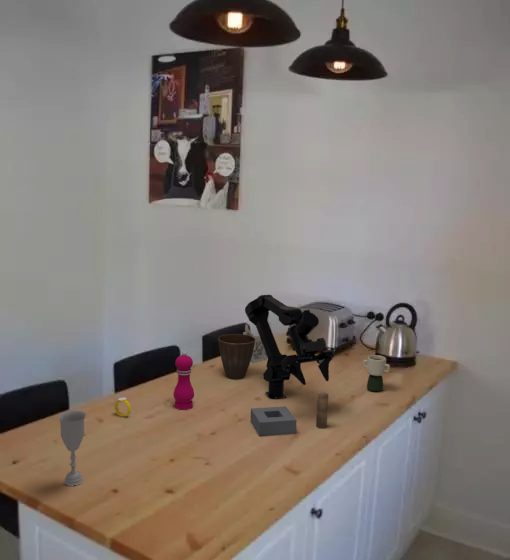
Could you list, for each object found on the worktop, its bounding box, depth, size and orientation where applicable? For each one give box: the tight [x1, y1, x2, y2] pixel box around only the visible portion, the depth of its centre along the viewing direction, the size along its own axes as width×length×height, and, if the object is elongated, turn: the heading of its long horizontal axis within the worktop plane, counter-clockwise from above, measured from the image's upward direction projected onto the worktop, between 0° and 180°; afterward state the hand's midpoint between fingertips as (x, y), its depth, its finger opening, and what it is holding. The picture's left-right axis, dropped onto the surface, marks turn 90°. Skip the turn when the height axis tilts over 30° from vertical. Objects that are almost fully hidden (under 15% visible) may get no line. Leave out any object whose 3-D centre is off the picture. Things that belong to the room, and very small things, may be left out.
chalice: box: [58, 410, 87, 487], centre depth 157 cm, size 7×7×18 cm
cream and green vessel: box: [362, 354, 391, 392], centre depth 235 cm, size 11×7×13 cm, turn 56°
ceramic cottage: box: [242, 323, 268, 363], centre depth 273 cm, size 16×16×15 cm
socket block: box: [250, 405, 298, 437], centre depth 197 cm, size 12×12×4 cm
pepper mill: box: [172, 350, 195, 411], centre depth 211 cm, size 7×7×20 cm
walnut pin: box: [315, 392, 329, 429], centre depth 199 cm, size 4×4×11 cm
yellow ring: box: [114, 397, 132, 418], centre depth 203 cm, size 6×3×6 cm, turn 62°
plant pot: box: [217, 333, 255, 380], centre depth 246 cm, size 15×15×16 cm
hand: (316, 382), depth 202 cm, fingers open, 9 cm apart
